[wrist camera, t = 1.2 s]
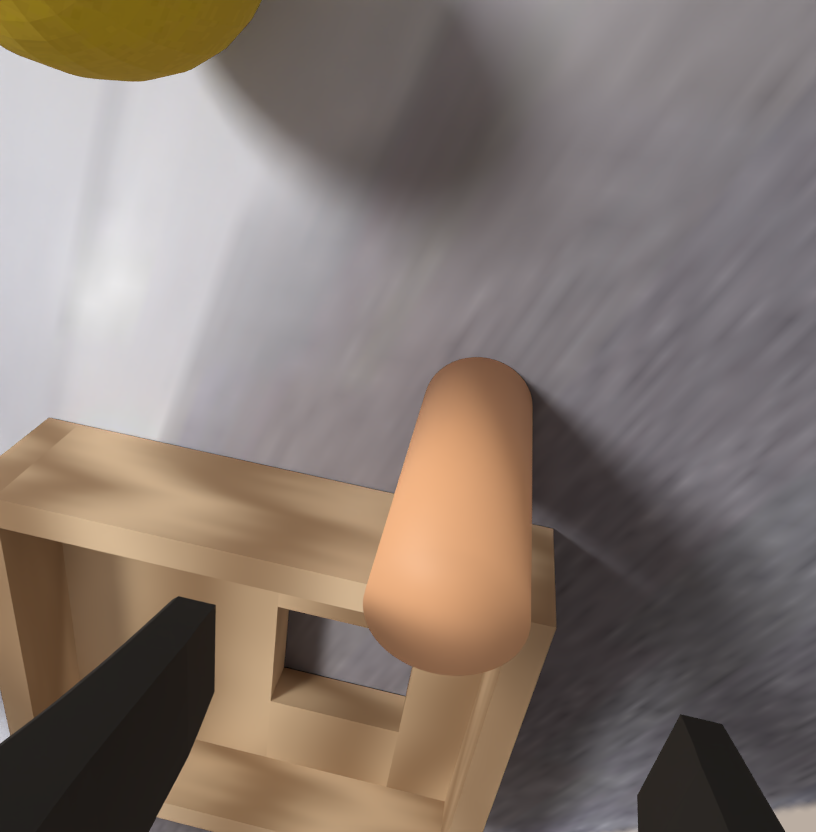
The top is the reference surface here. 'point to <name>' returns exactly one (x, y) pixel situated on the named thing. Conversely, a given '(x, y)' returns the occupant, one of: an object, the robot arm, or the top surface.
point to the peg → (459, 527)
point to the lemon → (122, 34)
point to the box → (247, 632)
